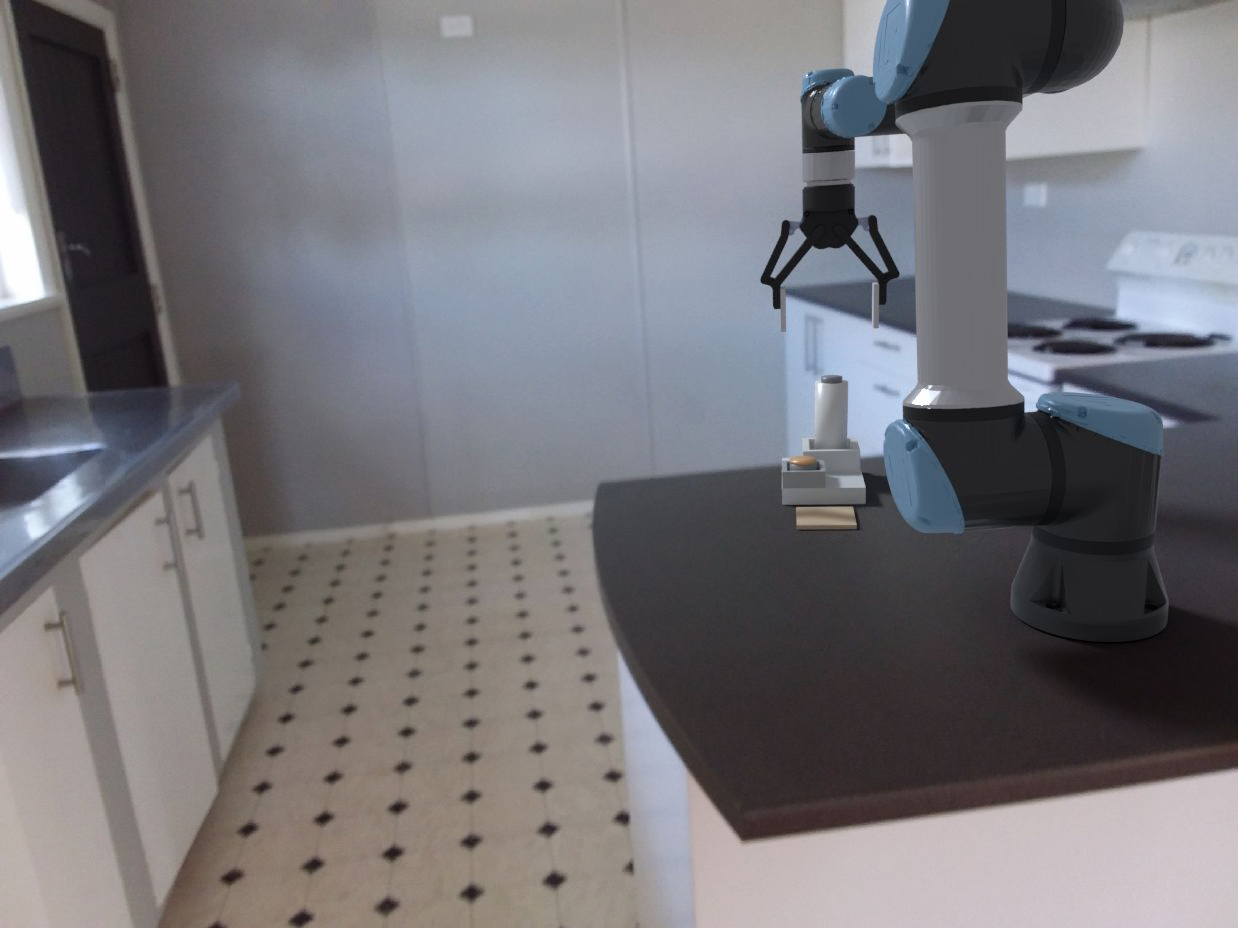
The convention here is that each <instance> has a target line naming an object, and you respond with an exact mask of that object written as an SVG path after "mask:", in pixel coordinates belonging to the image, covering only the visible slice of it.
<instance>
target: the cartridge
mask: <svg viewBox="0 0 1238 928" xmlns="http://www.w3.org/2000/svg"><path fill="white" fill-rule="evenodd" d="M848 411H849V381H848V380H845V379H843V375H838V374H837V375H836V374H827V375H822V376H820V379H818V380H816V381H815V382H814V437H813V438H814V450H821V449H847V437H848V418H849V417H848V415H849V413H848Z"/></svg>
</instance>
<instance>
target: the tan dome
mask: <svg viewBox="0 0 1238 928" xmlns="http://www.w3.org/2000/svg"><path fill="white" fill-rule="evenodd" d="M789 458H790V471H799V470H817V458H815V457H812V456H802V455H797V456H792V457H789Z"/></svg>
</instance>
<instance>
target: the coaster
mask: <svg viewBox="0 0 1238 928" xmlns="http://www.w3.org/2000/svg"><path fill="white" fill-rule="evenodd" d="M795 518H796V519H795V520H796V521H795V522H796V530H804V531H805V530H857V529H858V524H857V520H856V515H855V511H854V506H796V507H795Z"/></svg>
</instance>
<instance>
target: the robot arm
mask: <svg viewBox="0 0 1238 928" xmlns="http://www.w3.org/2000/svg"><path fill="white" fill-rule="evenodd" d="M1123 9H1124V8H1123V6H1122V2H1121V1H1120V0H886V1H885V4H884V7H883V11H882V13H881V16H880V20H879V23H878V28H877V33H876V37H875V44H874V50H873V58H872V61H873V62H872V76H867V75H863V74H857V75H855V73H854V71H853V70H852V69H849V68H841V67H840V68H825V69H817V70H814V71H808V72H807V73H805V74H804V75H803V77H802V79H801V95H800V96H799V97H800V98H799V101H800V104H801V106H800V107H801V148H802V149H801V150H802V152H801V177H802V178H801V180H802V182H803V183H806V186H803V188H802V189H801V190H802V192H801V193H802V217H801V220H800V221H799V220H798V221H796V220H789V219H783V220H782V222H781V229H780V236H779V237H778V239H777V242H776V244H775V246H774V248H773V251H772V252H771V254H770V257H769V259H768V261H767V263H766V265H765V267H764V269H763V272H762V274H761V276H760V279H759V281H760V283H761V284H762V285H766V286H769V287H770V288H771V289H772V308H773V310H780V332H781V333H783V332H784V333H785V332H787V309H786V308H787V307H786V306H787V305H786V303H787V302H786V286H782V284H783V283H784V282H785V280H786V279H787V278H788V277H789V276H790V274H791V273H793V270H795V268H796V267H797V266H798V264H799V263H800V262H801V261H802V259H803V258H804V257H805V256H806V254H807V253H809V251H810V250H811V248H812V247H813V248H814V249H817V250H825V249H828V248H831V249H840V248H842V247H845V245H846V246H847V247H848V249H850V250H851V252H852V253H853V254H854V255H855V256H856V257H857V259H859V260H860V262H861V263H862V264H863V265H864V267H866V269H868V271H869V272H870V273H871V274H872V275H873V277H875V279H876V280H877V282H875V281H874V282H872V283H871V284H872V285H871V288H872V291H871V294H872V295H871V309H872V310H871V327H872V328H873V329H879V327H880V325H879V323H880V322H879V321H880V320H879V319H880V318H879V317H880V314H879V313H880V306H884V305H886V303H887V301H888V300H887V299H888V298H887V286H888V283H889V282H891V281H892V280H895V279H898V278H899V277H900V274H901V273H900V271H899V268H898V267H897V265H896V262H895V261H894V259H893V257H892V255H891V253H890V251H889V249H888V247H887V245H886V243H885V241H884V239H883V237H882V234H881V233H880V231H879V227H878V226H879V225H878V218H877V215H874V214H869V215H868V216H862V217H858V218H857V216H856V186H855V185H854V183H852V180H854V179H855V178H856V138H860V137H861V138H863V137H879V136H881V137H882V136H893V135H906V136H907V137H908V138H909V139H910V141H911V146H912V148H911V149H912V150H911V151H912V153H911V154H912V155H911V156H912V193H913V235H914V236H913V237H914V238H913V239H914V243H913V244H914V247H913V248H914V276H915V277H914V280H915V281H914V284H915V285H914V286H915V288H914V289H915V322H916V323H915V324H916V325H915V326H916V327H915V328H916V370H917V372H916V373H917V375H916V376H917V383H916V385H915V387H914V388H913V389H912V390H911V391H910V393H908V395H907V396H906V397H904V399H903V400H902V419H896V420H894V421H893V422H891V423H889V424H888V425H887V427H886V428H885V431H884V439H883V449H882V450H883V451H882V452H883V462H884V467H885V473H886V479H887V481H888V482H887V483H888V485H889V489H890V493H891V495H892V498H893V501H894V503H895V505H896V507H897V509H898V512H899V513H900V515H901V517H902V518H903V519H904V520H905V522H906V523H907V524H908V525H909V526H910V527H911V528H912V529H914V530H915V531H917V532H920V533H923V534H941V533H942V534H945V533H949V534H950V533H951V534H954V535H961V534H963V533H965V532H967V533H968V532H978V531H988V530H989V531H990V530H991V531H992V530H1000V529H1004V530H1005V529H1013V528H1015V529H1016V528H1023V527H1024V528H1027V527H1031V533H1030V540H1029V543H1028V545H1027V548H1026V550H1025V552H1024V555H1023V557H1022V560H1021V561H1020V564H1019V566H1018V569H1017V571H1016V574H1015V575H1014V578H1013V581H1012V583H1011V588H1010V604H1009V605H1010V609H1011V612H1012V613H1013V614H1014V615H1015V616H1016V617H1017V618H1018V620H1021V621H1022V622H1024V623H1026V625H1029V626H1031V627H1032V628H1035V629H1038V630H1040V631H1042V632H1045V633H1048V634H1052V635H1055V636H1060V637H1064V638H1067V639H1071V640H1072V639H1074V640H1078V641H1079V640H1080V641H1087V642H1098V643H1099V642H1100V643H1101V642H1102V643H1121V642H1124V643H1125V642H1133V641H1139V640H1144V639H1147V638H1150V637H1153V636H1155V635H1157V634H1159V633H1161V632H1162V631H1163V630H1164V629H1165V628H1166V627H1167V624H1168V618H1169V606H1170V605H1169V603H1170V602H1169V597H1168V594H1167V590H1166V587H1165V586H1166V585H1165V584H1164V580H1163V576H1162V573H1161V570H1160V566H1159V563H1158V559H1157V555H1156V551H1155V541H1156V530H1157V529H1156V528H1157V519H1158V508H1159V505H1158V504H1159V498H1160V497H1159V496H1160V495H1159V494H1160V487H1161V486H1160V484H1161V476H1162V475H1161V473H1162V463H1163V462H1162V460H1163V457H1165V450H1164V422H1163V420H1162V417H1161V415H1160V414H1159V413H1158V412H1157V411H1156V410H1155V409H1154V408H1152V407H1150V406H1148V405H1145V404H1143V403H1139V402H1136V401H1133V400H1129V399H1123V398H1118V397H1114V396H1108V395H1100V394H1094V393H1093V394H1092V393H1085V392H1072V391H1071V392H1070V391H1052V392H1051V391H1050V392H1046V393H1043V394H1040V396H1039V397H1038V399H1037V402H1036V403H1035V408H1036V410H1035V411H1027V412H1026V411H1025V410H1026V409H1025V408H1026V407H1025V406H1026V405H1025V404H1026V402H1025V396H1024V395H1023V394H1022V393H1021V392H1020V391H1019V390H1018V389H1017V388H1016V387H1014V385H1012V383H1011V382H1010V381H1009V368H1008V367H1009V361H1008V360H1009V355H1008V353H1009V352H1008V350H1009V349H1008V348H1009V347H1008V344H1009V343H1008V342H1009V341H1008V340H1009V339H1008V334H1009V333H1008V254H1007V253H1008V251H1007V249H1008V247H1007V246H1008V244H1007V240H1008V239H1007V235H1008V234H1007V230H1008V229H1007V149H1006V148H1007V145H1006V144H1007V141H1006V137H1007V135H1006V134H1007V133H1006V132H1007V129H1008V128H1009V126H1010V125H1011V124H1012V123H1013V121H1014V120H1015V119H1016V118H1017V116H1018V115H1019V114H1020V113H1021V112H1022V111H1023V108H1024V107H1023V103H1024V102H1023V99H1024V98H1027V97H1029V96H1032V95H1033V94H1038V93H1039V94H1042V95H1043V94H1044V95H1053V94H1059V93H1064V92H1066V91H1069V90H1071V89H1073V88H1076V87H1079V86H1081V85H1083V84H1086V83H1088V82H1089V81H1091V80H1093V79H1094V78H1095V77H1097V76H1099V74H1100V73H1102V72H1103V71H1104V70H1105V68H1107V66H1108V65H1109V64H1110V62H1111V61H1112V59H1114V57H1115V55H1116V52H1117V51H1118V49H1119V47H1120V45H1121V41H1122V38H1123V35H1124V34H1123V33H1124V25H1125V17H1124V11H1123ZM859 226H860V227H862V229H863V230H864V231H865V232H868V233H869V237H870V238H871V240H872V242H873V244H874V246H875V248H876V250H877V252H878V254H879V256H880V258H881V260H882V262H883V264H884V266H885V267H886V269H887V271H885V272H883V271H882V270H881V269H880V268H879V266H878V265H876V263H875V262H874V261H873V260H872V259H871V258H870V257H869V256H868V254H867V253H866V251H865V250H863V249H862V247H861V246H860V245H859V244H858V243H857V242H856V240H855V239H853V237H852V235H853V234H854V233H855V231H856V229H857V228H858V227H859ZM798 229H799V230H800V232H801V233H802V235H804V236H805V240H804V241H803V242H802V243H801V245H800V246H799V248H798V249H797V250H795V252H794V253H793V255H792V256H791V257H790V259H789V260H788V261H787V262H786V264H785V265H784V266H783V267H782V268H781V270H780V271H779V273H777V275H776V276H775V277H773V276H772V274H773V272H774V269H775V268H776V266H777V263H778V262H779V259H780V258H781V254H782V253H783V250H784V248H785V247H786V245H787V242H788V240H789V236H793V235H794V234H795V232H796V231H797V230H798Z"/></svg>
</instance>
